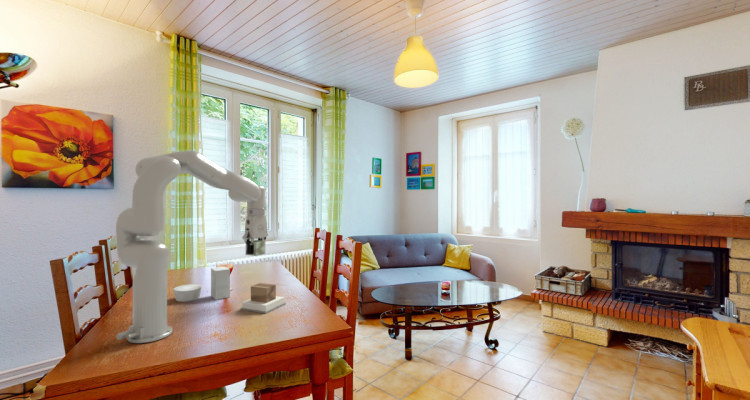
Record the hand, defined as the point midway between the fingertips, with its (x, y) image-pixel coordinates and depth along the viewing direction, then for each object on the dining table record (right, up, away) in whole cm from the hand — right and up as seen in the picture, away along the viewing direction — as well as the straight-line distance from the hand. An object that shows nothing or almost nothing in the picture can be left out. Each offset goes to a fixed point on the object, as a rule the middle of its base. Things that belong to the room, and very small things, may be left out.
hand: (255, 252), depth 154 cm
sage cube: (0, -1, 0) cm, 1 cm away
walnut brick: (+7, -18, -11) cm, 23 cm away
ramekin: (-30, -21, 0) cm, 37 cm away
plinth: (+7, -21, -11) cm, 25 cm away
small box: (-17, -21, +3) cm, 27 cm away
